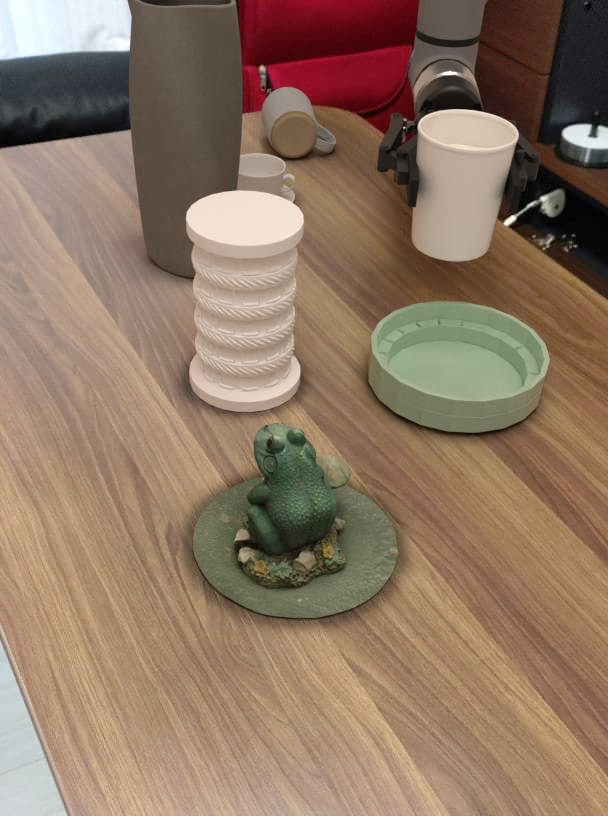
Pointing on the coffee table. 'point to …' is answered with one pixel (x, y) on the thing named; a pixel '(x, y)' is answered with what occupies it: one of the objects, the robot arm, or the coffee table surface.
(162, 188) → the vase
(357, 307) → the coffee table surface
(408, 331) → the bowl
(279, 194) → the teacup
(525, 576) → the coffee table surface
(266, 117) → the ceramic mug
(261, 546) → the frog figurine
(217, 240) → the decorative container
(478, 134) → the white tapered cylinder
